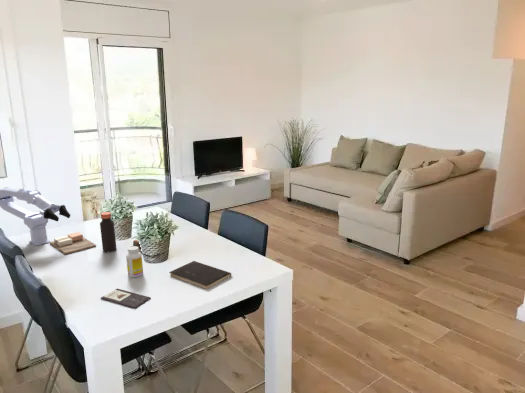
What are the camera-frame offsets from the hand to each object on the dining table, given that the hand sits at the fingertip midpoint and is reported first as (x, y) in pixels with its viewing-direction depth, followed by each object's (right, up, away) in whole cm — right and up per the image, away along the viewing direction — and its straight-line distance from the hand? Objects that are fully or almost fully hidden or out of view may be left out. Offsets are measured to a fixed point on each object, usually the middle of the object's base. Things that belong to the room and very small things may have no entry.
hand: (63, 218), depth 224 cm
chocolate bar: (+48, -31, -51) cm, 77 cm away
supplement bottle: (+46, -24, -29) cm, 60 cm away
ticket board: (+1, -15, +7) cm, 17 cm away
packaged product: (+44, -17, 0) cm, 47 cm away
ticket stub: (0, -12, +13) cm, 18 cm away
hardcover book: (+76, -25, -31) cm, 85 cm away
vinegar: (+24, -17, 0) cm, 29 cm away
